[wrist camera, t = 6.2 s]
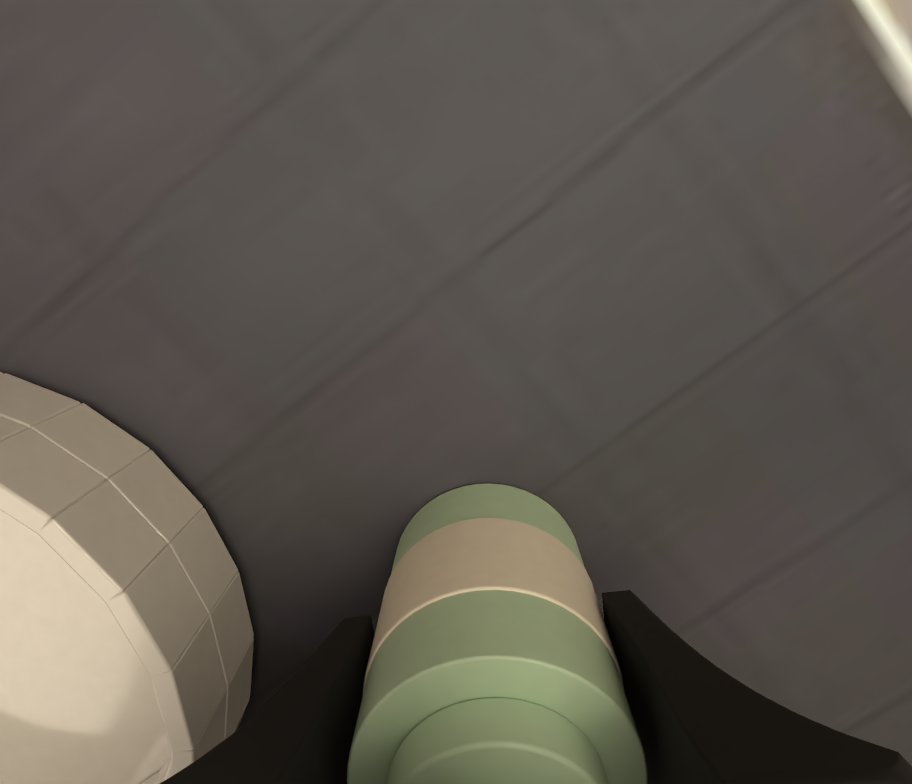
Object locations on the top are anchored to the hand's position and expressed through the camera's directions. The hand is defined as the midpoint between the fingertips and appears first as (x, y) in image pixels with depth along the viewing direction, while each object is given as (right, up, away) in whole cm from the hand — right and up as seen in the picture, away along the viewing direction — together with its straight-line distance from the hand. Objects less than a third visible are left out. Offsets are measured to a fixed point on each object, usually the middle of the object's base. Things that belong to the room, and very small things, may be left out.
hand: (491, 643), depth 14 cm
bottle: (0, +1, +3) cm, 3 cm away
